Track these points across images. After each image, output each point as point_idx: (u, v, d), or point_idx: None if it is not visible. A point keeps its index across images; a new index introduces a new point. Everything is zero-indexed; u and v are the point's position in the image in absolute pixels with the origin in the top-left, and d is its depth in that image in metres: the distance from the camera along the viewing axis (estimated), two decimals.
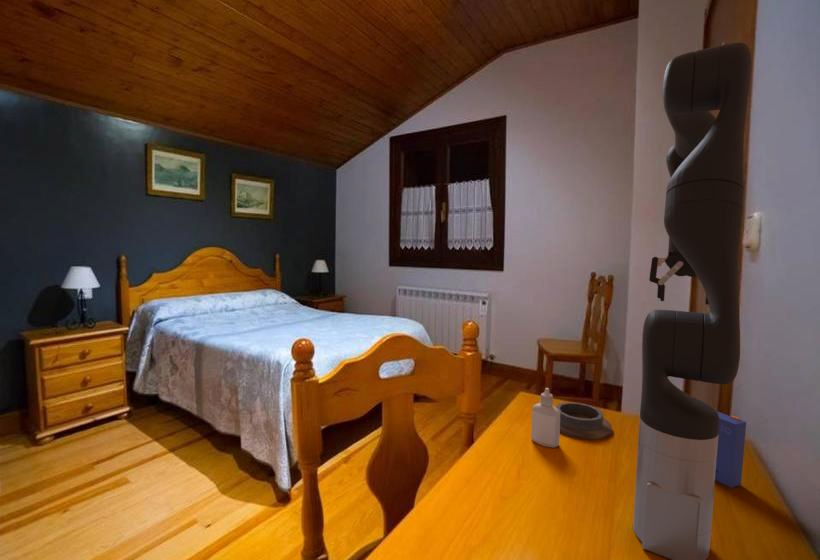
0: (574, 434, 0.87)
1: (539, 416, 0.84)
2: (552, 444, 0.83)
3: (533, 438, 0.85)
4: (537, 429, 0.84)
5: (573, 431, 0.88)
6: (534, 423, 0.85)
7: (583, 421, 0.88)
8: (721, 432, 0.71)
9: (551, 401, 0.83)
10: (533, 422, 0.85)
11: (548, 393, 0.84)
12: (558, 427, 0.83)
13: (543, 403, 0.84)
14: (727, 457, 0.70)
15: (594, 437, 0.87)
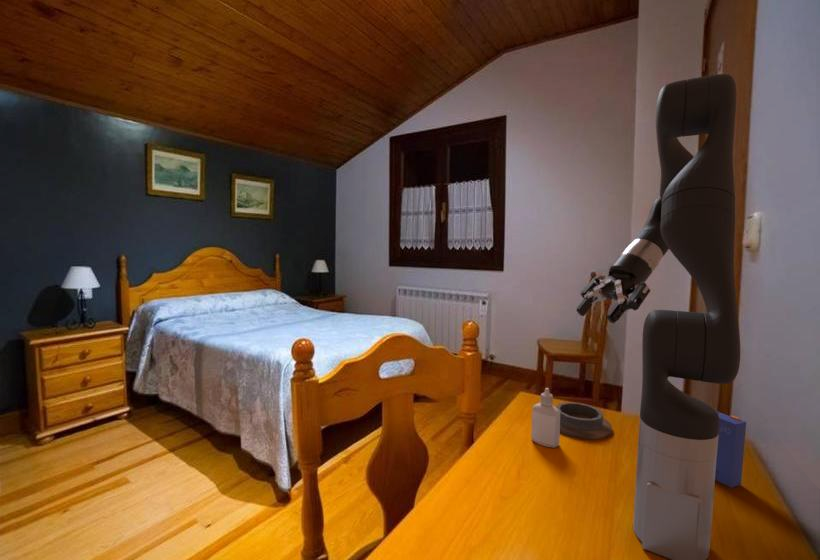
0: (574, 434, 0.87)
1: (539, 416, 0.84)
2: (552, 444, 0.83)
3: (533, 438, 0.85)
4: (537, 429, 0.84)
5: (573, 431, 0.88)
6: (534, 423, 0.85)
7: (583, 421, 0.88)
8: (721, 432, 0.71)
9: (551, 401, 0.83)
10: (533, 422, 0.85)
11: (548, 393, 0.84)
12: (558, 427, 0.83)
13: (543, 403, 0.84)
14: (727, 457, 0.70)
15: (594, 437, 0.87)
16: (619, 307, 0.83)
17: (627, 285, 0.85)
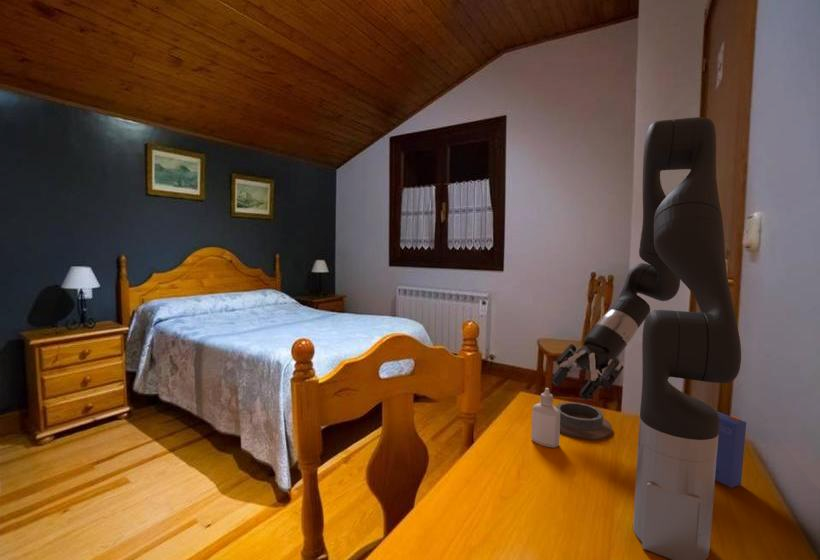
0: (574, 434, 0.87)
1: (539, 416, 0.84)
2: (552, 444, 0.83)
3: (533, 438, 0.85)
4: (537, 429, 0.84)
5: (573, 431, 0.88)
6: (534, 423, 0.85)
7: (583, 421, 0.88)
8: (721, 432, 0.71)
9: (551, 401, 0.83)
10: (533, 422, 0.85)
11: (548, 393, 0.84)
12: (558, 427, 0.83)
13: (543, 403, 0.84)
14: (727, 457, 0.70)
15: (594, 437, 0.87)
16: (592, 384, 0.82)
17: (601, 360, 0.84)
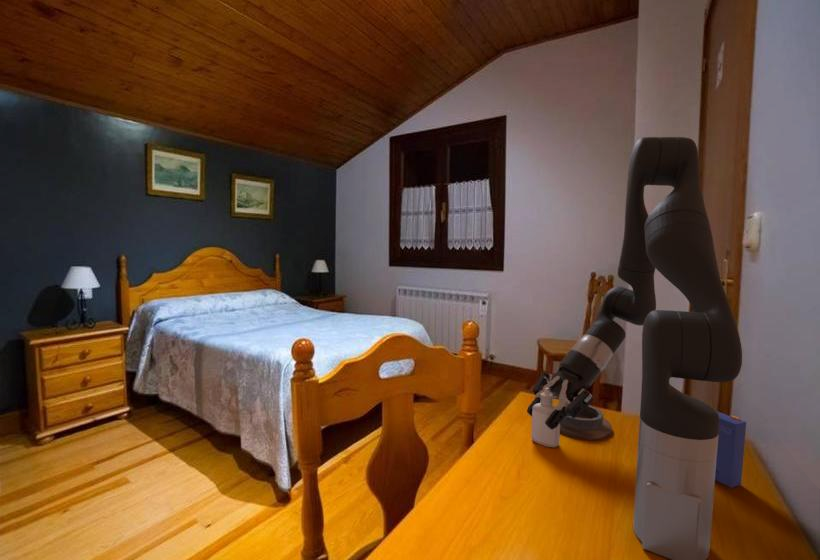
0: (574, 434, 0.87)
1: (539, 416, 0.84)
2: (552, 443, 0.83)
3: (533, 438, 0.85)
4: (537, 429, 0.84)
5: (573, 431, 0.88)
6: (534, 423, 0.85)
7: (583, 421, 0.88)
8: (721, 432, 0.71)
9: (551, 401, 0.83)
10: (533, 422, 0.85)
11: (548, 393, 0.84)
12: (558, 427, 0.83)
13: (543, 403, 0.84)
14: (727, 457, 0.70)
15: (594, 437, 0.87)
16: (558, 413, 0.81)
17: (573, 387, 0.83)
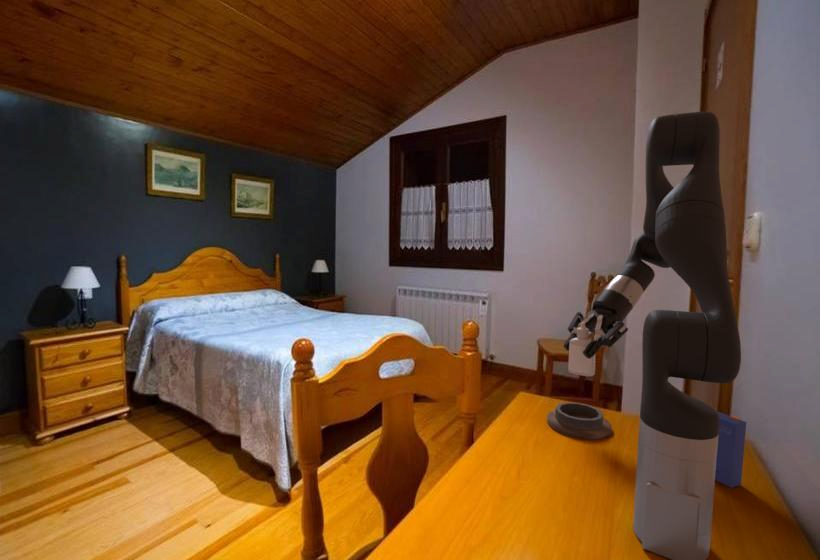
0: (574, 434, 0.87)
1: (576, 348, 0.91)
2: (589, 372, 0.90)
3: (570, 370, 0.93)
4: (574, 360, 0.92)
5: (573, 431, 0.88)
6: (571, 356, 0.92)
7: (583, 421, 0.88)
8: (721, 432, 0.71)
9: (587, 334, 0.91)
10: (570, 355, 0.93)
11: (584, 327, 0.91)
12: (594, 358, 0.90)
13: (580, 336, 0.91)
14: (727, 457, 0.70)
15: (594, 437, 0.87)
16: (594, 344, 0.88)
17: (608, 321, 0.90)
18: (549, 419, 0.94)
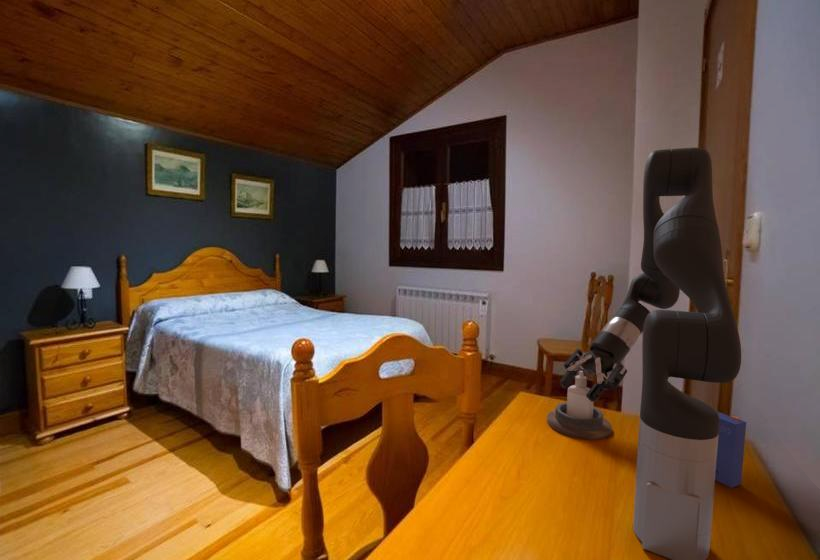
0: (574, 434, 0.87)
1: (574, 396, 0.92)
2: None
3: None
4: (572, 408, 0.93)
5: (573, 431, 0.88)
6: (569, 403, 0.93)
7: (583, 421, 0.88)
8: (721, 432, 0.71)
9: (585, 383, 0.92)
10: (568, 402, 0.94)
11: (582, 375, 0.92)
12: (592, 406, 0.91)
13: (578, 384, 0.92)
14: (727, 457, 0.70)
15: (594, 437, 0.87)
16: (598, 387, 0.88)
17: (606, 364, 0.91)
18: (549, 419, 0.94)
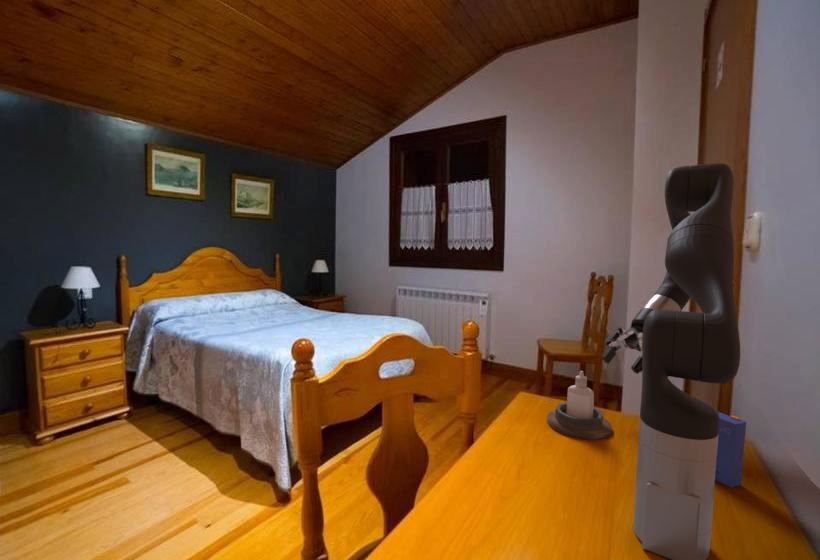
0: (574, 434, 0.87)
1: (574, 396, 0.92)
2: None
3: None
4: (573, 408, 0.93)
5: (573, 431, 0.88)
6: (569, 403, 0.93)
7: (583, 421, 0.88)
8: (721, 432, 0.71)
9: (585, 383, 0.92)
10: (568, 402, 0.94)
11: (583, 375, 0.92)
12: (592, 407, 0.91)
13: (578, 384, 0.92)
14: (727, 457, 0.70)
15: (594, 437, 0.87)
16: None
17: None
18: (549, 419, 0.94)
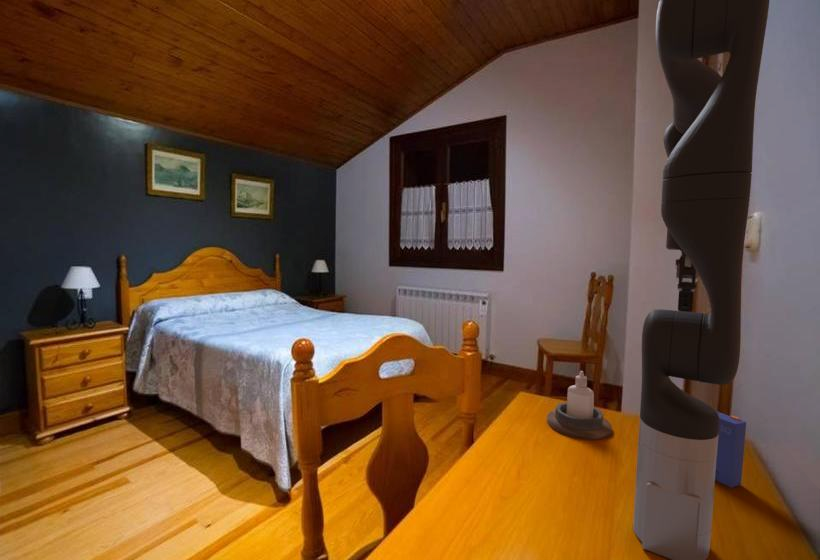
0: (574, 434, 0.87)
1: (574, 396, 0.92)
2: None
3: None
4: (573, 408, 0.93)
5: (573, 431, 0.88)
6: (569, 403, 0.93)
7: (583, 421, 0.88)
8: (721, 432, 0.71)
9: (585, 383, 0.92)
10: (568, 402, 0.94)
11: (583, 375, 0.92)
12: (592, 407, 0.91)
13: (578, 384, 0.92)
14: (727, 457, 0.70)
15: (594, 437, 0.87)
16: (681, 294, 0.74)
17: None
18: (549, 419, 0.94)
